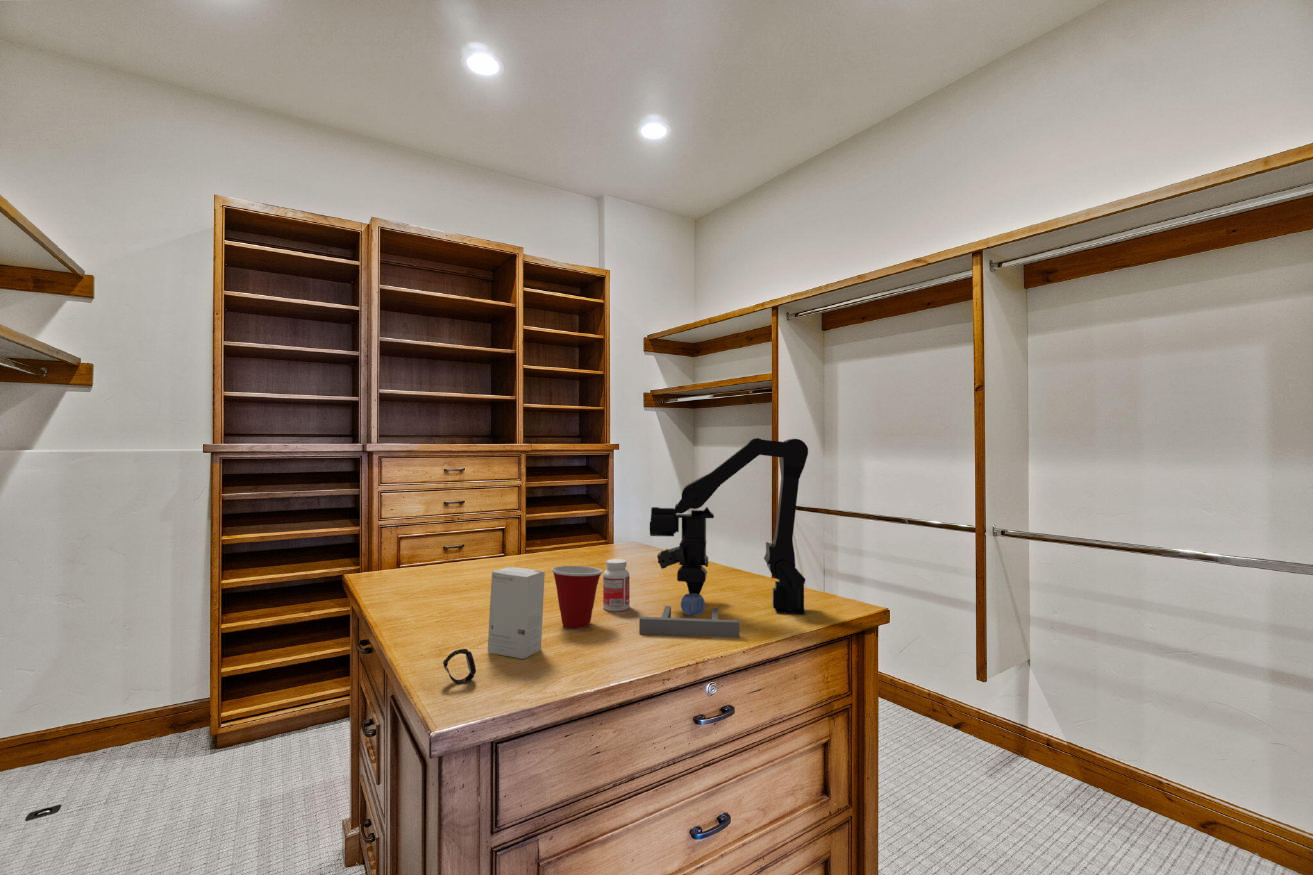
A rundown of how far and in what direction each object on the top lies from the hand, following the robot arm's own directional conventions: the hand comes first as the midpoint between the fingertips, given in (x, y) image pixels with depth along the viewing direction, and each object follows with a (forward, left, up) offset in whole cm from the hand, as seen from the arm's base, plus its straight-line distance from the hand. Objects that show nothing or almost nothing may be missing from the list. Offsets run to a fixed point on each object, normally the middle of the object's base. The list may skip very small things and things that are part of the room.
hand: (693, 603), depth 132 cm
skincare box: (+31, +32, -1) cm, 45 cm away
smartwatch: (+35, +46, -1) cm, 58 cm away
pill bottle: (+18, +2, -1) cm, 18 cm away
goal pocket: (0, +15, -1) cm, 15 cm away
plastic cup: (+24, +15, -1) cm, 28 cm away
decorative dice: (0, +4, -1) cm, 4 cm away
